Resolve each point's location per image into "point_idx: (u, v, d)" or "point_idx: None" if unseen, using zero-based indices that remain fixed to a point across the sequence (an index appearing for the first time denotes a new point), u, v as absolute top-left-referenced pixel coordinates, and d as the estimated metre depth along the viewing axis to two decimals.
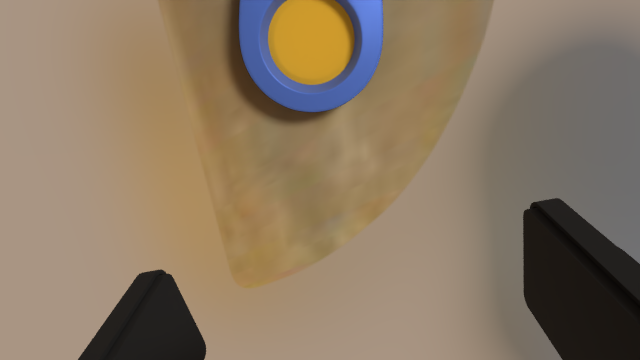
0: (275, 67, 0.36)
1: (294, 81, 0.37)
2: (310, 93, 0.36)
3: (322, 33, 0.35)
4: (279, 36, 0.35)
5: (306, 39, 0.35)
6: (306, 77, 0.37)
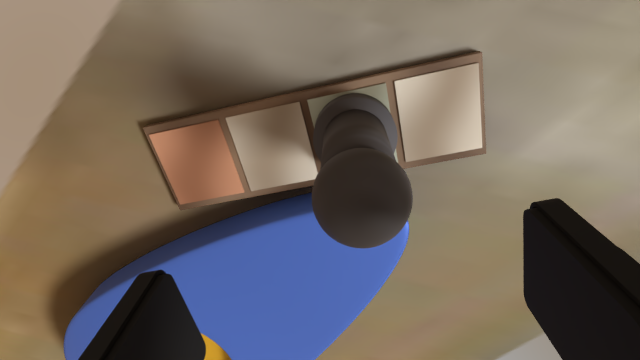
0: None
1: None
2: None
3: None
4: None
5: None
6: None
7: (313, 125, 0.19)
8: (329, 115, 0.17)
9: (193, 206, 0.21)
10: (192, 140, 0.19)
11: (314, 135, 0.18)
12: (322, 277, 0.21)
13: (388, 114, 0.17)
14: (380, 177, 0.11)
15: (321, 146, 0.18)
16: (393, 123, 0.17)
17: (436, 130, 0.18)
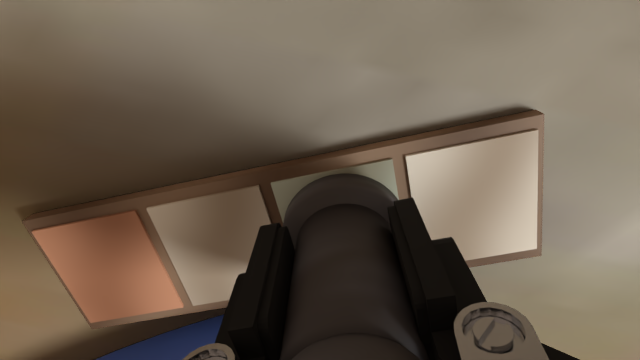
0: None
1: None
2: None
3: None
4: None
5: None
6: None
7: (281, 218, 0.12)
8: (304, 211, 0.11)
9: (110, 324, 0.14)
10: (99, 238, 0.13)
11: None
12: None
13: None
14: None
15: None
16: None
17: (468, 225, 0.12)
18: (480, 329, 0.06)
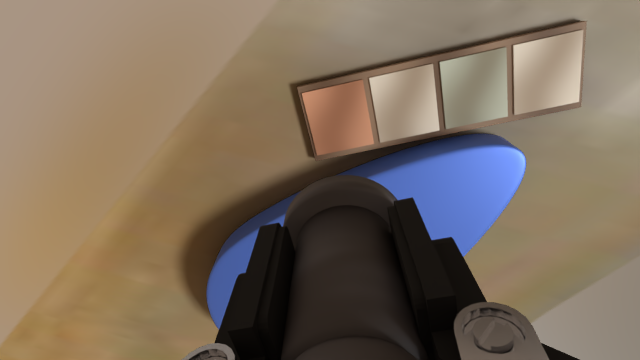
0: None
1: None
2: None
3: None
4: None
5: None
6: None
7: (441, 83, 0.23)
8: (304, 213, 0.11)
9: (327, 157, 0.25)
10: (337, 97, 0.23)
11: None
12: (447, 212, 0.24)
13: None
14: None
15: None
16: None
17: (542, 87, 0.23)
18: (480, 329, 0.06)
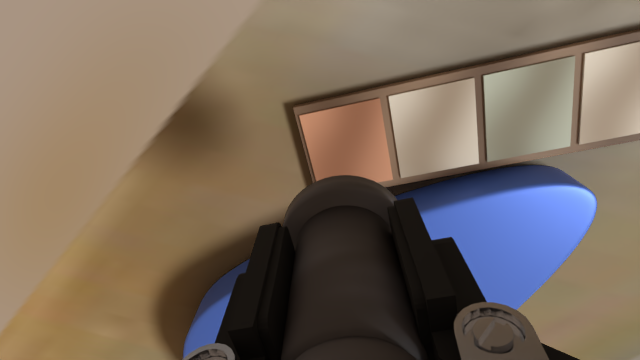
0: None
1: None
2: None
3: None
4: None
5: None
6: None
7: (484, 104, 0.17)
8: (304, 213, 0.11)
9: None
10: (346, 121, 0.18)
11: None
12: (489, 266, 0.19)
13: None
14: None
15: None
16: None
17: (620, 108, 0.17)
18: (480, 329, 0.06)
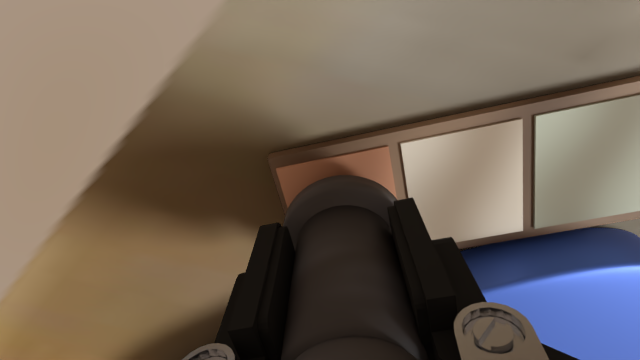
0: None
1: None
2: None
3: None
4: None
5: None
6: None
7: (534, 154, 0.12)
8: (305, 213, 0.11)
9: None
10: None
11: None
12: None
13: None
14: None
15: None
16: None
17: None
18: (480, 329, 0.06)
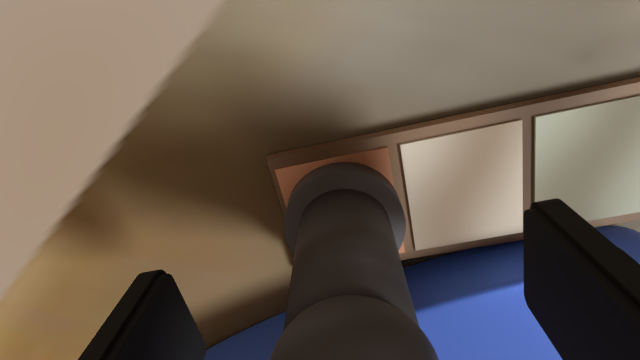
0: None
1: None
2: None
3: None
4: None
5: None
6: None
7: (534, 155, 0.12)
8: (306, 196, 0.12)
9: None
10: None
11: (285, 223, 0.12)
12: None
13: (392, 195, 0.12)
14: None
15: (296, 238, 0.12)
16: (400, 208, 0.12)
17: None
18: None
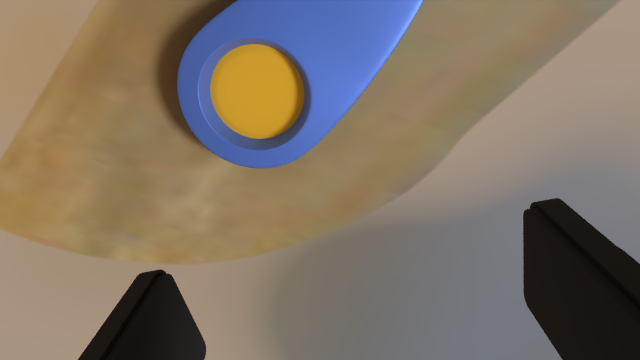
0: (207, 82, 0.32)
1: (213, 107, 0.33)
2: (216, 131, 0.33)
3: (271, 98, 0.33)
4: (235, 64, 0.32)
5: (254, 89, 0.32)
6: (226, 115, 0.33)
7: None
8: None
9: None
10: None
11: None
12: None
13: None
14: None
15: None
16: None
17: None
18: None
